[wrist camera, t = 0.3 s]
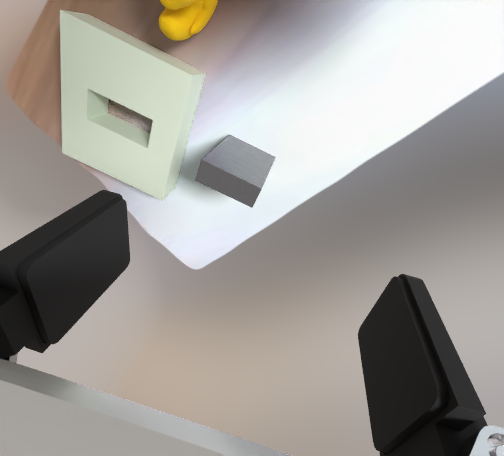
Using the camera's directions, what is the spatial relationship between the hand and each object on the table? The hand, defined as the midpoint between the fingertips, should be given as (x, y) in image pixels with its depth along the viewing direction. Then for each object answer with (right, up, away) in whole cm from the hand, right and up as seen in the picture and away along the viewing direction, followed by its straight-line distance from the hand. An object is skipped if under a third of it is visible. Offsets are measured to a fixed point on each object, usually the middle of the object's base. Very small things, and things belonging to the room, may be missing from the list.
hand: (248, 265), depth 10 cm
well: (-18, +20, +35) cm, 44 cm away
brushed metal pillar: (0, +13, +34) cm, 37 cm away
